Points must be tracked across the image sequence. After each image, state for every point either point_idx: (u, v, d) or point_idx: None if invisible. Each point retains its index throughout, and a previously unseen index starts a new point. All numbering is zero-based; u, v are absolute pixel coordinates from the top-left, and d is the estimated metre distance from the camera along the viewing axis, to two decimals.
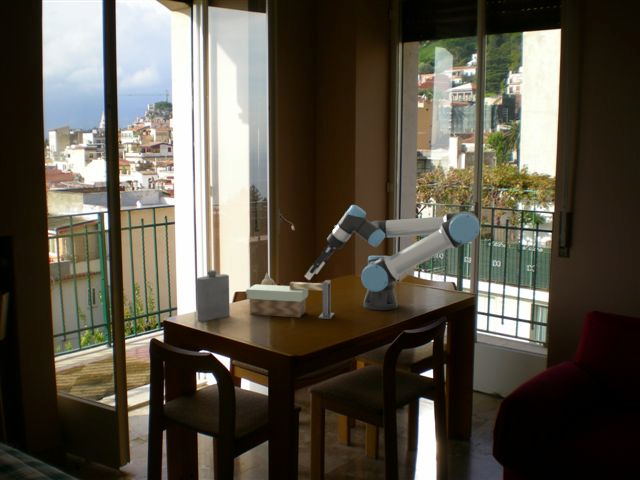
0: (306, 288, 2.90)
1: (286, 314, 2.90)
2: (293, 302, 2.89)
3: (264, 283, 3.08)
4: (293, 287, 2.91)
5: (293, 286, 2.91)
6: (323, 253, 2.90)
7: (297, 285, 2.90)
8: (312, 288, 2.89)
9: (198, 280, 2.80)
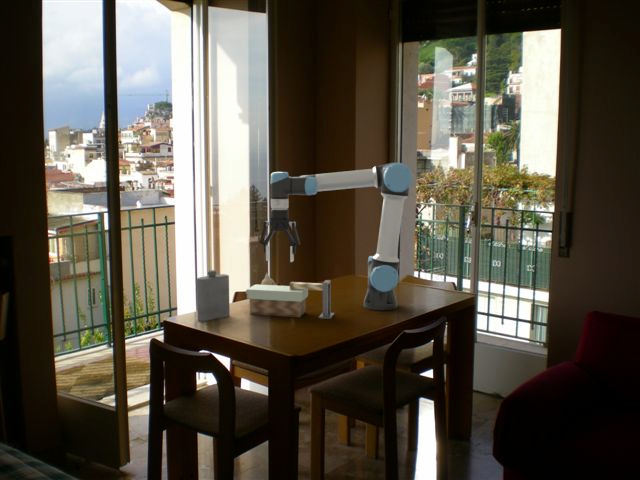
0: (306, 288, 2.90)
1: (286, 314, 2.90)
2: (293, 302, 2.89)
3: (264, 283, 3.08)
4: (293, 287, 2.91)
5: (293, 286, 2.91)
6: (295, 230, 2.89)
7: (297, 285, 2.90)
8: (312, 288, 2.89)
9: (198, 280, 2.80)
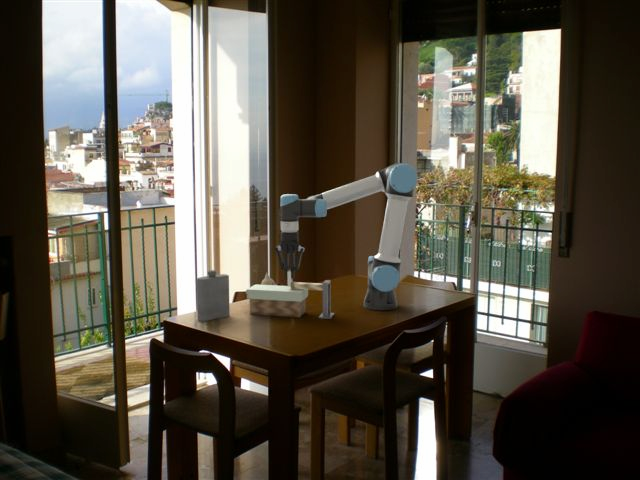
0: (307, 288, 2.90)
1: (286, 314, 2.90)
2: (293, 302, 2.89)
3: (264, 283, 3.08)
4: (294, 287, 2.91)
5: (294, 286, 2.91)
6: (300, 255, 2.89)
7: (298, 285, 2.90)
8: (313, 288, 2.89)
9: (198, 280, 2.80)
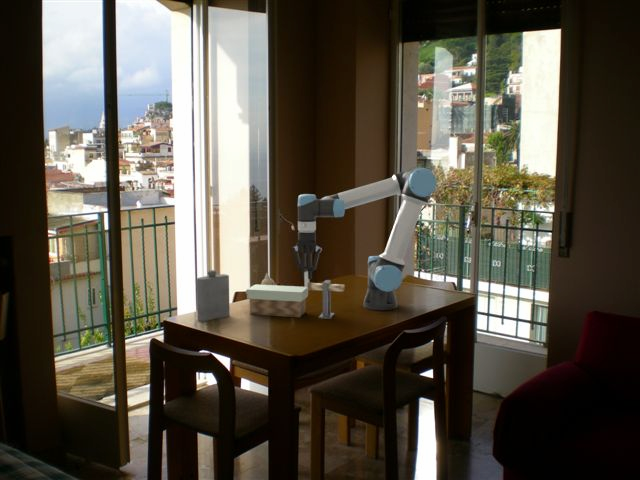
0: None
1: (286, 314, 2.90)
2: (293, 302, 2.89)
3: (264, 283, 3.08)
4: (311, 288, 2.89)
5: (311, 287, 2.89)
6: (318, 256, 2.88)
7: (315, 286, 2.89)
8: (330, 289, 2.87)
9: (198, 280, 2.80)
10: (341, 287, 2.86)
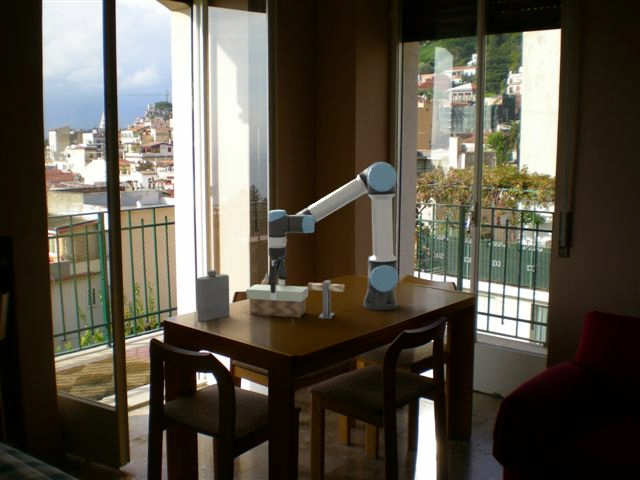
0: None
1: (286, 314, 2.90)
2: (293, 302, 2.89)
3: (264, 283, 3.08)
4: (311, 288, 2.89)
5: (311, 287, 2.89)
6: None
7: (315, 286, 2.89)
8: (330, 289, 2.87)
9: (198, 280, 2.80)
10: (341, 287, 2.86)
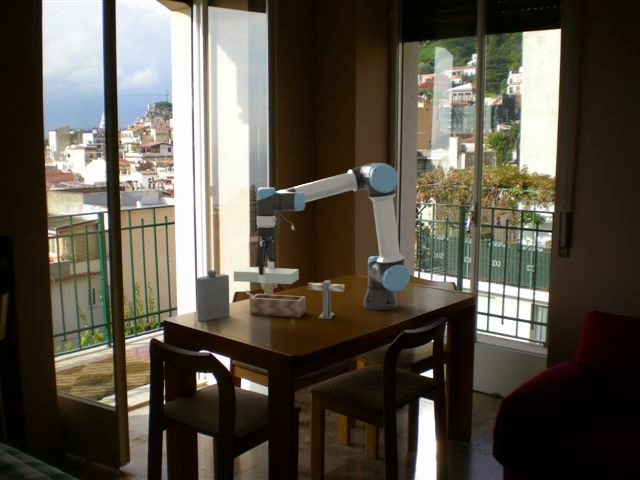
0: None
1: (286, 314, 2.90)
2: (293, 302, 2.89)
3: (264, 283, 3.08)
4: (311, 288, 2.89)
5: (311, 287, 2.89)
6: None
7: (315, 286, 2.89)
8: (330, 289, 2.87)
9: (198, 280, 2.80)
10: (341, 287, 2.86)
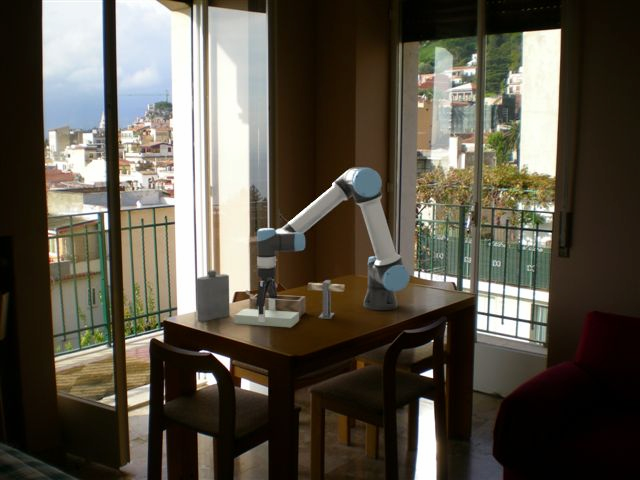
0: None
1: None
2: (293, 302, 2.89)
3: None
4: (311, 288, 2.89)
5: (311, 287, 2.89)
6: None
7: (315, 286, 2.89)
8: (330, 289, 2.87)
9: (198, 280, 2.80)
10: (341, 287, 2.86)
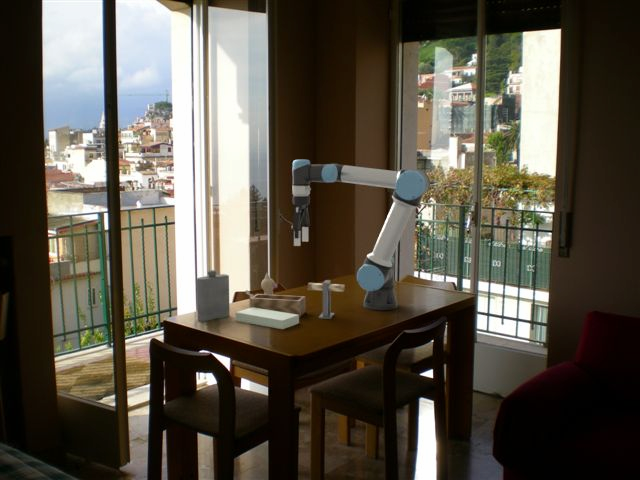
0: None
1: None
2: (293, 302, 2.89)
3: (264, 283, 3.08)
4: (311, 288, 2.89)
5: (311, 287, 2.89)
6: None
7: (315, 286, 2.89)
8: (330, 289, 2.87)
9: (198, 280, 2.80)
10: (341, 287, 2.86)
